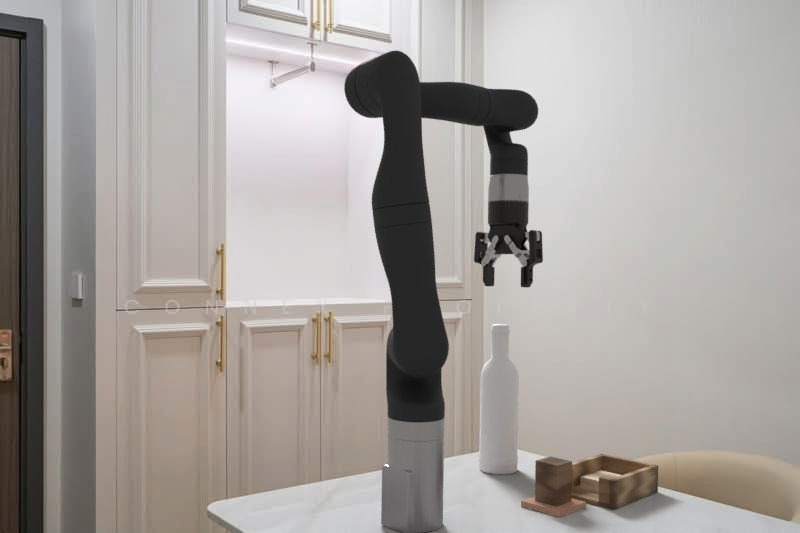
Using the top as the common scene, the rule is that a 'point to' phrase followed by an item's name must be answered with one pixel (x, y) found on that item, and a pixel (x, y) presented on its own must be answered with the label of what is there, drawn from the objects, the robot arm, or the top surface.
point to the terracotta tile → (554, 510)
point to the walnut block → (553, 481)
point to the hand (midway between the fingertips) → (507, 286)
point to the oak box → (612, 481)
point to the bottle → (499, 407)
